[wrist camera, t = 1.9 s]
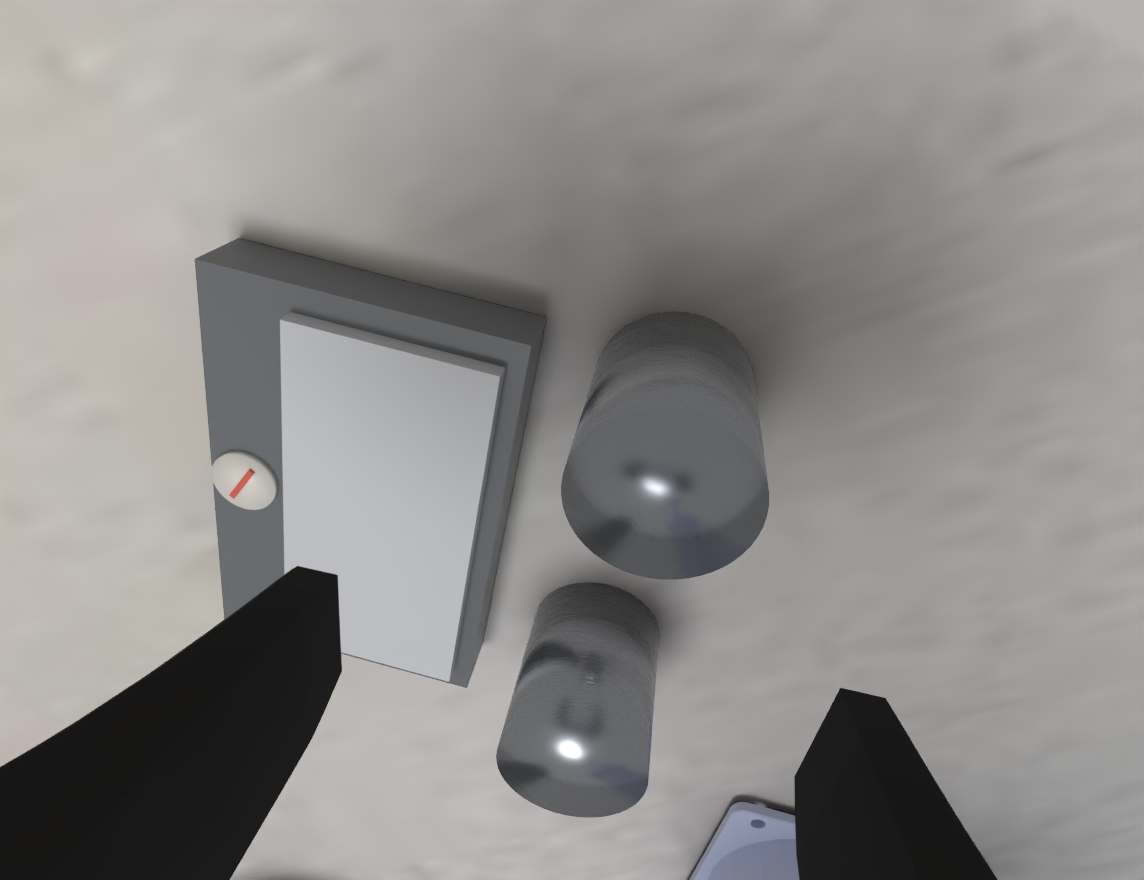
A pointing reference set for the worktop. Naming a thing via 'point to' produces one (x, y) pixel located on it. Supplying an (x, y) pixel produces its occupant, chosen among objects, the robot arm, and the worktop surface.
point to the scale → (364, 445)
